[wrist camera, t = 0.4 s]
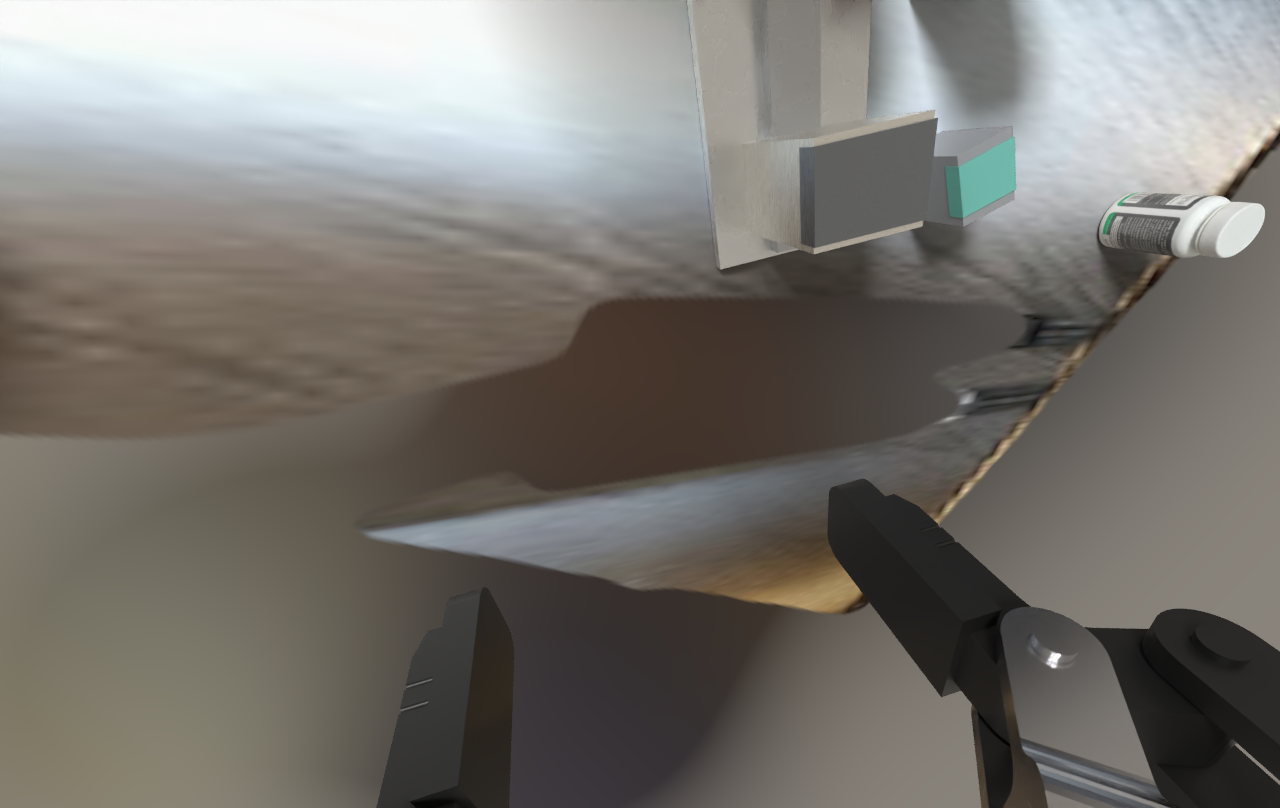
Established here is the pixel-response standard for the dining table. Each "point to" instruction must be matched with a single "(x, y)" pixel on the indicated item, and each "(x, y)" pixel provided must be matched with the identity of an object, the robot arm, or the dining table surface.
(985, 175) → the block
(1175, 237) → the pill bottle
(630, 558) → the dining table surface
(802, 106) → the rail panel
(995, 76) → the dining table surface
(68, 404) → the dining table surface
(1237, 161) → the dining table surface
